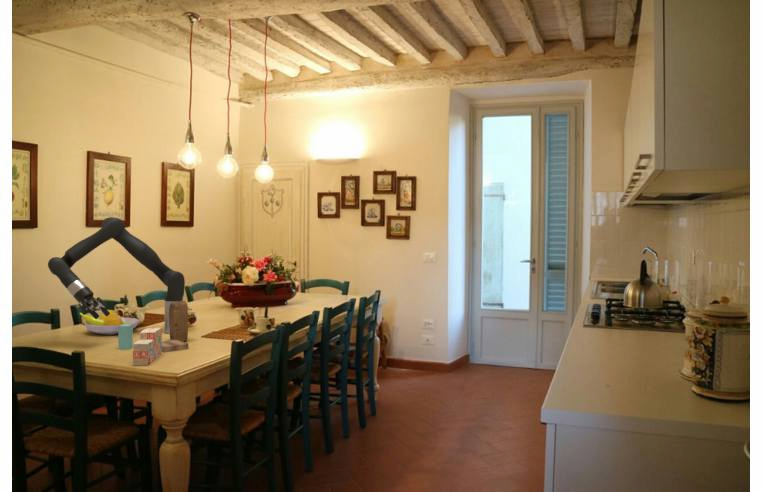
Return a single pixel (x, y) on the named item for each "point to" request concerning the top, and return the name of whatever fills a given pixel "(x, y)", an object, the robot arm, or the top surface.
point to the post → (125, 336)
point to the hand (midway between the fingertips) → (103, 316)
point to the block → (178, 320)
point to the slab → (173, 345)
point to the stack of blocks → (147, 346)
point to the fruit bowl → (107, 323)
